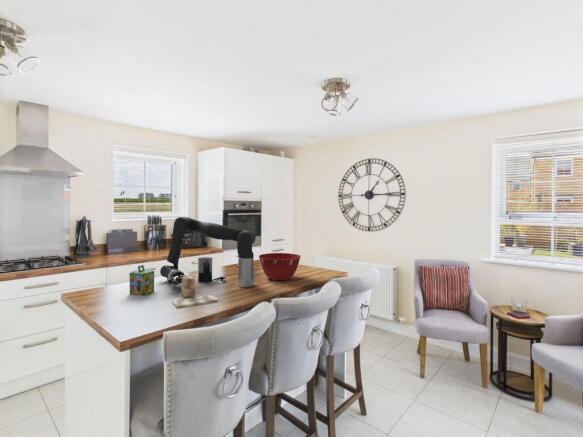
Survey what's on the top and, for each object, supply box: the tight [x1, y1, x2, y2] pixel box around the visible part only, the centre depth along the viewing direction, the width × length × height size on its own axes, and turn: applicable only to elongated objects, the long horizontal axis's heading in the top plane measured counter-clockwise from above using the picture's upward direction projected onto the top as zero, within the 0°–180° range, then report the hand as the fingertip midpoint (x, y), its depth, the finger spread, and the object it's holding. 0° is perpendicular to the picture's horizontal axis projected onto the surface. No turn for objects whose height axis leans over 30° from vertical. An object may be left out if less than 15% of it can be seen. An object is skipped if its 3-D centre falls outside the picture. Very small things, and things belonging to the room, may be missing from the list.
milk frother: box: [197, 256, 227, 284], centre depth 195 cm, size 14×16×15 cm
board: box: [171, 294, 219, 309], centre depth 154 cm, size 20×9×1 cm, turn 126°
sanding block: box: [181, 275, 196, 299], centre depth 163 cm, size 5×6×10 cm
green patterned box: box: [129, 264, 155, 296], centre depth 167 cm, size 9×9×15 cm
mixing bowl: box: [258, 252, 302, 281], centre depth 208 cm, size 28×28×15 cm
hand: (184, 282), depth 168 cm, fingers open, 8 cm apart
